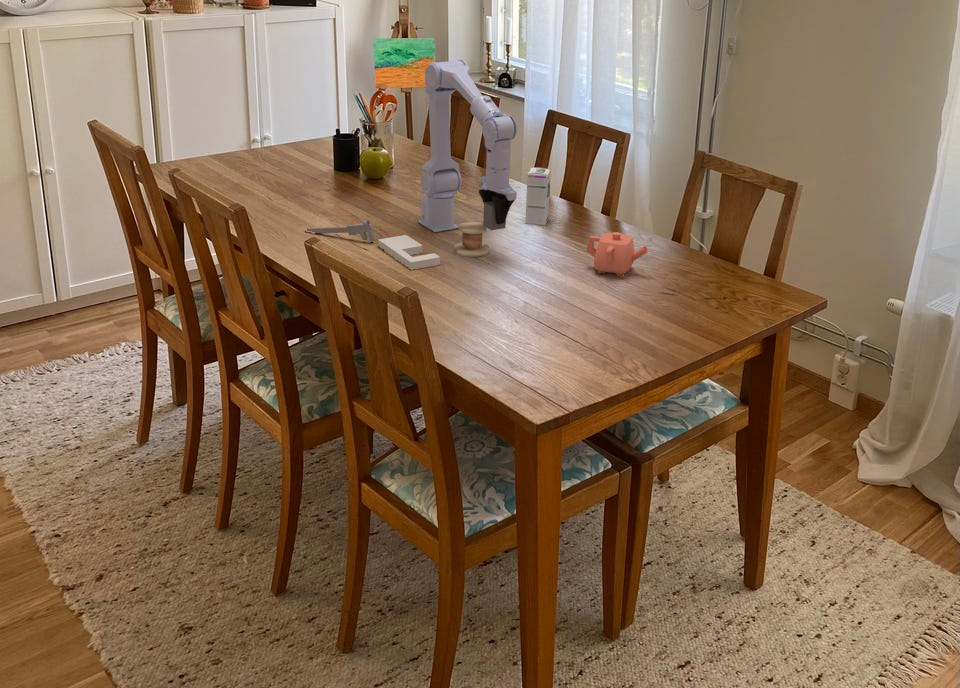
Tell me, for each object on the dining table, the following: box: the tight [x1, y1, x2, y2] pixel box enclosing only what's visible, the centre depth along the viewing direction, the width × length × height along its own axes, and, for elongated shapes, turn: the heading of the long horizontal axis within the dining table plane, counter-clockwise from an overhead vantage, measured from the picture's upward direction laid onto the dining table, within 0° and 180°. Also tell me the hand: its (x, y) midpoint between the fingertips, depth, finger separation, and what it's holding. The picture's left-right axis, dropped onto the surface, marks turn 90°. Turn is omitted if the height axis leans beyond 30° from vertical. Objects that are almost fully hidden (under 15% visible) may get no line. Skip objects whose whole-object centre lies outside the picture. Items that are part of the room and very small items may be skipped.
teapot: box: [586, 231, 649, 277], centre depth 244 cm, size 12×12×10 cm
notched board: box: [377, 234, 441, 271], centre depth 250 cm, size 18×8×2 cm, turn 31°
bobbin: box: [453, 221, 491, 258], centre depth 254 cm, size 9×9×6 cm
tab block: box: [482, 201, 507, 231], centre depth 247 cm, size 4×4×6 cm
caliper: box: [306, 219, 375, 243], centre depth 260 cm, size 20×1×6 cm, turn 69°
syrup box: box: [525, 167, 552, 226], centre depth 275 cm, size 6×6×14 cm
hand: (495, 220), depth 248 cm, fingers closed on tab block, 4 cm apart
